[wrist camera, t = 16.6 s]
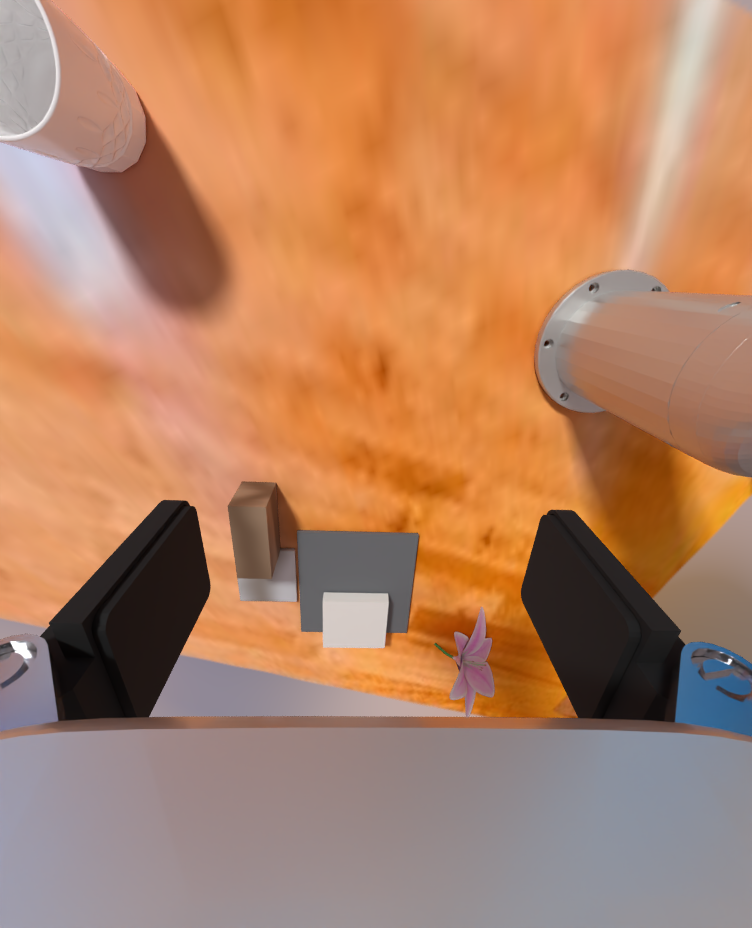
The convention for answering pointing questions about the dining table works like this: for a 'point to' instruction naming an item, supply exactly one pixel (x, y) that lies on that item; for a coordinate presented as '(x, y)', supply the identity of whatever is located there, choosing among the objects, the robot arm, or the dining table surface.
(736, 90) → the dining table surface
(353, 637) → the tile
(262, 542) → the brown and grey block
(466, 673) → the lily
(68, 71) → the white cup
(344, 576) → the mat
